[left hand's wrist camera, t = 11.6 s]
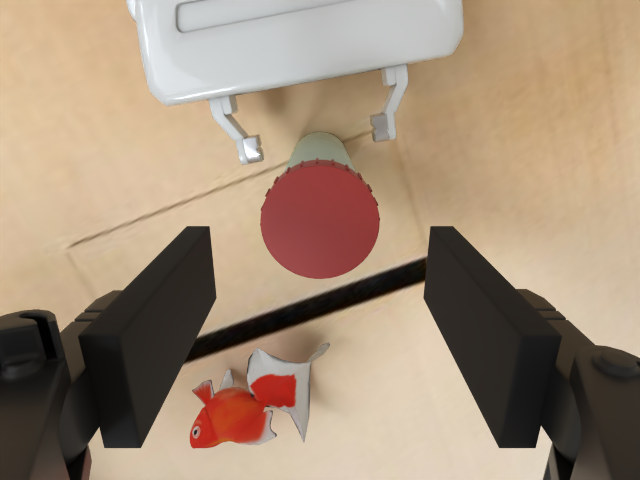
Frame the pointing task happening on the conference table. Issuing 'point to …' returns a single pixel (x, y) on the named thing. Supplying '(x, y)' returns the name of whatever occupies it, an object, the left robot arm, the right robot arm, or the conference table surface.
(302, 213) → the lid
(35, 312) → the left robot arm
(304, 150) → the green bottle
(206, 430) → the fish
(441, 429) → the conference table surface
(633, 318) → the conference table surface
